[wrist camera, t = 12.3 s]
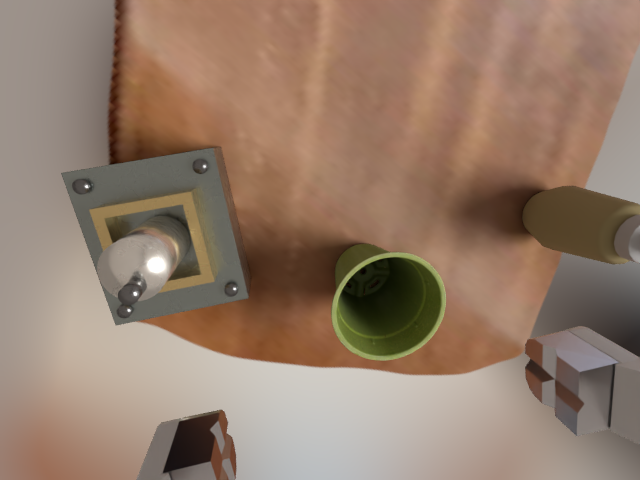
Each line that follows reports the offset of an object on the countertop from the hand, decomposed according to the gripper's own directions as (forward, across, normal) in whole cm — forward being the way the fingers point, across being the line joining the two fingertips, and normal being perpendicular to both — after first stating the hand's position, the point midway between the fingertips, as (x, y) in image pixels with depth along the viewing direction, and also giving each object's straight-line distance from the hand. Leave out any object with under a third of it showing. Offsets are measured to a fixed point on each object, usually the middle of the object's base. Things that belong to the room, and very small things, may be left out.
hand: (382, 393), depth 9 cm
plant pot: (+35, -7, +11) cm, 38 cm away
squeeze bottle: (+35, -32, +8) cm, 48 cm away
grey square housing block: (+35, +14, +1) cm, 38 cm away
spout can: (+29, +14, +1) cm, 32 cm away
